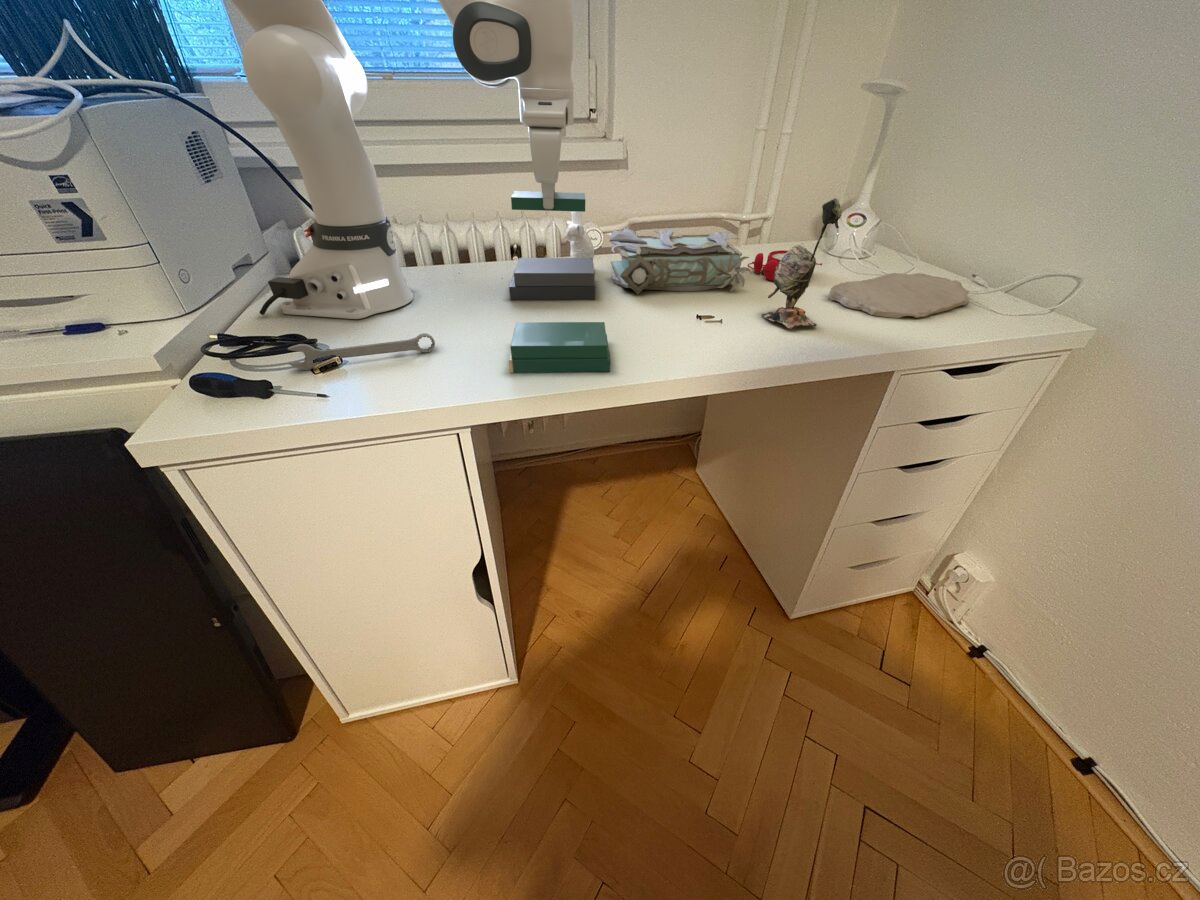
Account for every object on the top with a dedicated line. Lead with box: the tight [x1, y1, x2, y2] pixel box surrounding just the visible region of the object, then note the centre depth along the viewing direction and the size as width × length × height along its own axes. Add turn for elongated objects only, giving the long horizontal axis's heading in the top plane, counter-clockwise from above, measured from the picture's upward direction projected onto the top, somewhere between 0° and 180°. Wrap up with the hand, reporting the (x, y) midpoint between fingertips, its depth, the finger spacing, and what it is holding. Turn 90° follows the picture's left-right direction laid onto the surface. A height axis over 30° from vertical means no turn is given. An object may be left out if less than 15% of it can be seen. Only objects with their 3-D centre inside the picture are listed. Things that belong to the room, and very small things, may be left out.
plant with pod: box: [761, 197, 843, 329], centre depth 81 cm, size 8×11×20 cm
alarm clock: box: [747, 249, 823, 282], centre depth 106 cm, size 10×6×15 cm
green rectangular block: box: [508, 321, 611, 374], centre depth 72 cm, size 14×9×4 cm, turn 93°
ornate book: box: [606, 226, 753, 295], centre depth 103 cm, size 23×10×30 cm
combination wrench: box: [287, 332, 436, 371], centre depth 71 cm, size 4×1×20 cm
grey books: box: [508, 257, 596, 301], centre depth 96 cm, size 16×11×5 cm
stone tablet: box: [828, 272, 970, 319], centre depth 95 cm, size 16×30×2 cm, turn 115°
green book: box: [510, 190, 586, 213], centre depth 87 cm, size 13×6×2 cm, turn 93°
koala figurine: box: [564, 211, 595, 259], centre depth 106 cm, size 8×7×12 cm
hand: (549, 204), depth 87 cm, fingers closed on green book, 6 cm apart
